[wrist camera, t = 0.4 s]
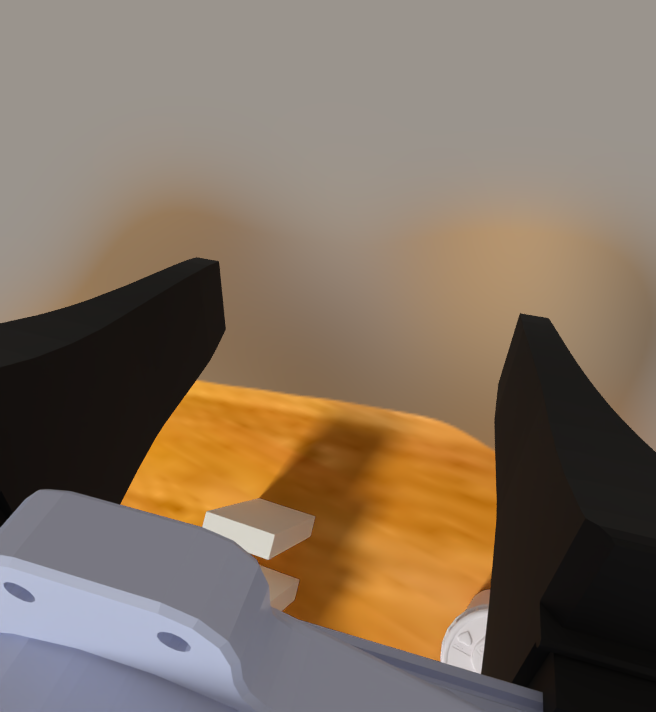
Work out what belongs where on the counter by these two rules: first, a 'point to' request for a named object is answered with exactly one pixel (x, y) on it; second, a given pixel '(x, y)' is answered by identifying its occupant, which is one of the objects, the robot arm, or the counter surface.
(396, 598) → the counter surface
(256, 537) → the domino
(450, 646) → the smoothie
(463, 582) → the counter surface
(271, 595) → the domino
